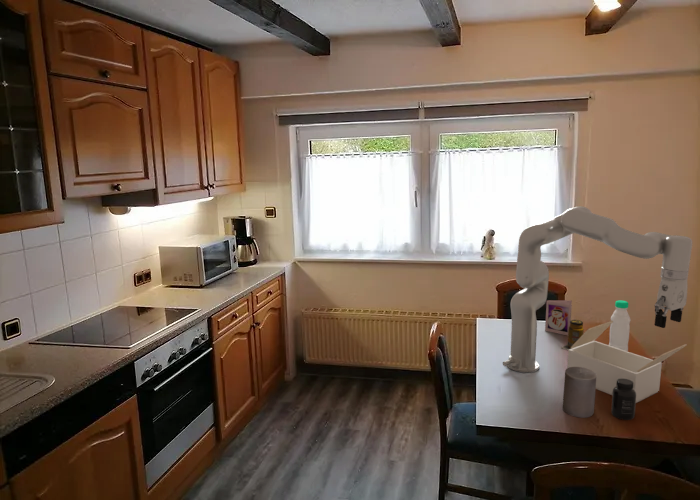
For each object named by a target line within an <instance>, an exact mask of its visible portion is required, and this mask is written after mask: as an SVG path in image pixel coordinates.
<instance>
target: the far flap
mask: <svg viewBox="0 0 700 500" xmlns="http://www.w3.org/2000/svg"><path fill="white" fill-rule="evenodd" d="M612 322H613V321H611V320H610V321H607V322H604V323H602V324H599V325H596V326H593V327H590V328H589V327H588V329H587V330H585V331H584V332H583V335H582V336H581V337H580V338H579V339H578V340H577V341H576V342H575V343H574V344H573V345H572V347H571V349H572V348H574V347H577V346H580V345H583V344H586V343H589V342H591V341H597V339H598V338H599V337H601V335H602V334H603V333H604V331H606V330H607V328H610V325H611V323H612Z"/></svg>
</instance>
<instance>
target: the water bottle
mask: <svg viewBox="0 0 700 500" xmlns="http://www.w3.org/2000/svg"><path fill="white" fill-rule="evenodd" d="M629 306H630V305H629V302H628V301H627V300H622V299H621V300H616V301H615V304H614V307H615V309H614V311H613V313H612V315H611V316H610V321H613V322H612V323H611V324H610V325H609V343H608V345H609V346H612V347H615V348H618V349H621V350H624V351H627V352H629V340H630V330H631V329H630V323H631V317H630V315H629V312H628V311H627V310H628V309H629Z"/></svg>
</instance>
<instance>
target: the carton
mask: <svg viewBox="0 0 700 500" xmlns="http://www.w3.org/2000/svg"><path fill="white" fill-rule="evenodd" d="M567 351H568V353H567V354H568V355H567V365H566V366H567V368H569V367H584V368H587V369H590V370H592V371H594V372H595V373H596V375H597V377H596V389H595V390H598V391H601V392H603V393H606V394H608V395H611V396H612V394H613V389H614V387H616V384H617V380H618V379H620V378H624V379H629V380H631V381H633V389H634V390H635V392H636V404H637V403H639V402H641V401H643V400H645V399H647V398H649V397H651V396H654V395H655V394H657V393H659V392H660V386H661V374H662V365H663V363H662V362H660V363H657V364H655V365H653V366H651V367H649V368H646V369H644V370H642V371H640V372H637V371H638V370H639V369H641V368H642V367H644V366H645V365H647V364H648V363H650V362H651V361H653V360H654V359H651V358H649V357H646V356H643V355H639V354H636V353H634V352H629V351H624V350H621V349H618V348H615V347H612V346H609V344H606V343H603V342H600V341H597V340H594V341H591V342H588V343H585V344H583V345H580V346H577V347H575V348H572V349H569V350H567ZM567 368H566V369H567ZM658 391H659V392H658Z"/></svg>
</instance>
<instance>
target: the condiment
mask: <svg viewBox="0 0 700 500" xmlns="http://www.w3.org/2000/svg"><path fill="white" fill-rule="evenodd" d="M584 330H585V329H584V321H582V320H581V319H580V320H579V319H571V321H570V326H569V329H568V335H567V344H565V345H562V347H561V349H563V350H565V351H566V350H567V351H568V350H569V349H571V347H572V345H573V344H574V343H575V342H576V341H577V340H578V339H579V338H580V337H581V336H582V335H583V334H584V333H585V331H584ZM574 348H575V347H574Z"/></svg>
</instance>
